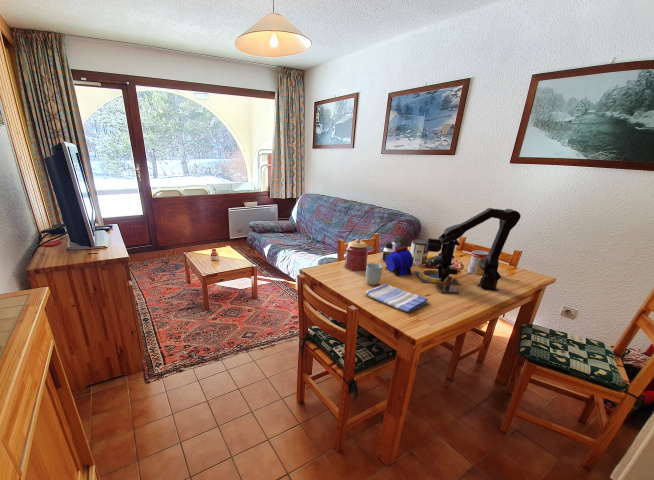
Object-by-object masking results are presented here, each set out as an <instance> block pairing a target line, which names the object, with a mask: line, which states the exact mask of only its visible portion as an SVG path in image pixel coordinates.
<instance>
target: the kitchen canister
mask: <svg viewBox="0 0 654 480" xmlns="http://www.w3.org/2000/svg"><path fill="white" fill-rule="evenodd" d="M345 249H346V252H345V260H344V267H345V268H346V269H348V270H351V271H364V270H366V267H367V264H368V258H369V257H368V256H369V253H368V251H369V247H368V243H366V241H363V240H361V239H360V238H356V240H352V241H350V242H348V243H347V246H346V247H345Z"/></svg>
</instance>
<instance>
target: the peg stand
mask: <svg viewBox="0 0 654 480" xmlns="http://www.w3.org/2000/svg"><path fill="white" fill-rule="evenodd" d="M451 280H452V276H448V277H447V281H446V284H435V288H436V290H438V291H439V292H440V294H448V295H459V290H458V289H457V288H456V287H455V286H454V285H453V284H451Z"/></svg>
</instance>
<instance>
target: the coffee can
mask: <svg viewBox="0 0 654 480" xmlns="http://www.w3.org/2000/svg"><path fill="white" fill-rule="evenodd" d="M427 240H428V239H419V238H417V239H416V238H415V239H412V240H411V246H410V250H409V251H410V253H411V255H412V257H413V265H412V266H418V267H423V266H426V265H427V261H426V260H427V259H428V255H429V251H426V250H425V246H426V243H427Z"/></svg>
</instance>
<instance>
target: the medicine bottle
mask: <svg viewBox="0 0 654 480" xmlns="http://www.w3.org/2000/svg"><path fill="white" fill-rule="evenodd" d="M396 245H397V244H396V243H395V242H394V241H386V242H385V245H384V248H383V251H382V256H381V257H382V258H381V262H383V263H386V257H387V256H390V255H391V253H392V252H393V251H395V249H396Z"/></svg>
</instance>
